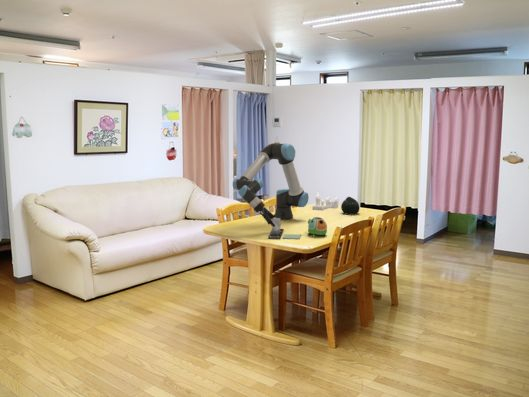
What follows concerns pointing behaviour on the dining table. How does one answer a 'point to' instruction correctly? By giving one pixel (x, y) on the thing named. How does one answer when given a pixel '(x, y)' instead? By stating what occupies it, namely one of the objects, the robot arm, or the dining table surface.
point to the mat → (291, 236)
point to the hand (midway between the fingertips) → (279, 227)
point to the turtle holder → (317, 226)
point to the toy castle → (328, 203)
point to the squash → (350, 206)
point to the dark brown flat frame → (275, 235)
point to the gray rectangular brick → (277, 222)
